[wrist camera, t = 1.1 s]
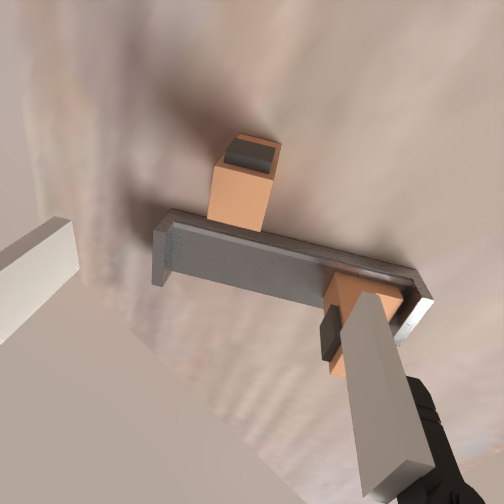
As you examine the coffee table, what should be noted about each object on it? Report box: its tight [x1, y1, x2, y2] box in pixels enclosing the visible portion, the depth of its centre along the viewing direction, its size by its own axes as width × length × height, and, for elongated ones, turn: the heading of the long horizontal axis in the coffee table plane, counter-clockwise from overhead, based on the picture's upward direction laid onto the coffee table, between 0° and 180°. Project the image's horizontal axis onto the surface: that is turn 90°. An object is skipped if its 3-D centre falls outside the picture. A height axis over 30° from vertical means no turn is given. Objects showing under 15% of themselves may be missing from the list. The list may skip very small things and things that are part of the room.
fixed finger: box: [320, 272, 404, 379], centre depth 29 cm, size 4×8×10 cm, turn 78°
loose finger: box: [207, 134, 282, 232], centre depth 26 cm, size 4×8×10 cm, turn 168°
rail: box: [152, 209, 434, 347], centre depth 33 cm, size 7×28×5 cm, turn 78°
